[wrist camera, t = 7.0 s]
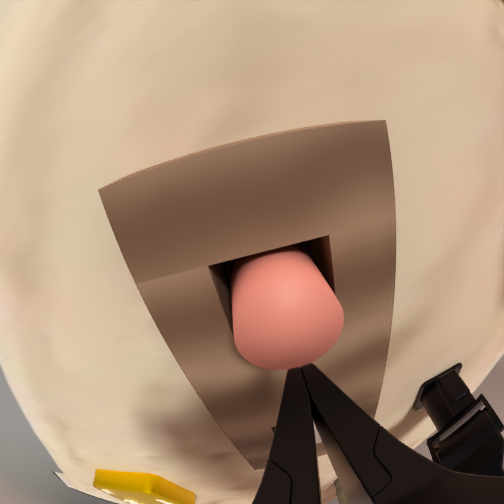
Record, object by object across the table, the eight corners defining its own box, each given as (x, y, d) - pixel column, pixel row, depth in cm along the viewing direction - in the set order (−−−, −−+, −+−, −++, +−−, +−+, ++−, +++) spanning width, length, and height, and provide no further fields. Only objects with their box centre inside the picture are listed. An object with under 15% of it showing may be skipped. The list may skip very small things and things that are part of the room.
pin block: (356, 412, 25) (368, 439, 21) (251, 439, 25) (254, 469, 21) (346, 121, 13) (385, 120, 9) (129, 174, 13) (98, 189, 9)
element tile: (199, 493, 36) (199, 513, 31) (139, 491, 37) (137, 508, 32) (154, 471, 30) (152, 495, 25) (91, 466, 30) (87, 486, 26)
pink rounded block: (318, 302, 15) (344, 353, 11) (242, 322, 15) (249, 379, 11) (308, 230, 13) (341, 270, 9) (220, 252, 13) (219, 302, 9)
